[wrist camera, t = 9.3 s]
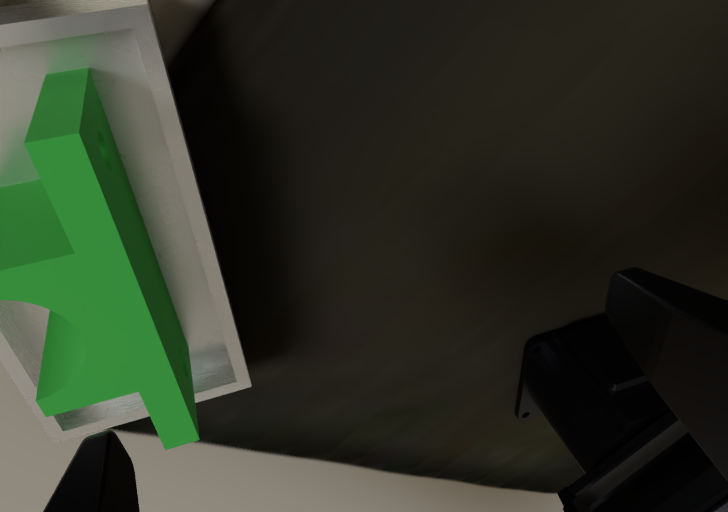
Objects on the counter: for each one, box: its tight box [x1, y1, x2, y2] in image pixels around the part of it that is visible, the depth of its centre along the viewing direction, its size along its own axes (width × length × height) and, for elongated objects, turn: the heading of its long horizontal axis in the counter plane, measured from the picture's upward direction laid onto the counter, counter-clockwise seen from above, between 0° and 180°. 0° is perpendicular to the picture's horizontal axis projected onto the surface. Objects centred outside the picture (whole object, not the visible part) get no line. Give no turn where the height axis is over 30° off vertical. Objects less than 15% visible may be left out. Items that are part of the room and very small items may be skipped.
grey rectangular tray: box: [0, 0, 252, 443], centre depth 19 cm, size 15×8×2 cm, turn 4°
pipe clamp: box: [0, 67, 200, 450], centre depth 17 cm, size 11×4×5 cm, turn 4°
